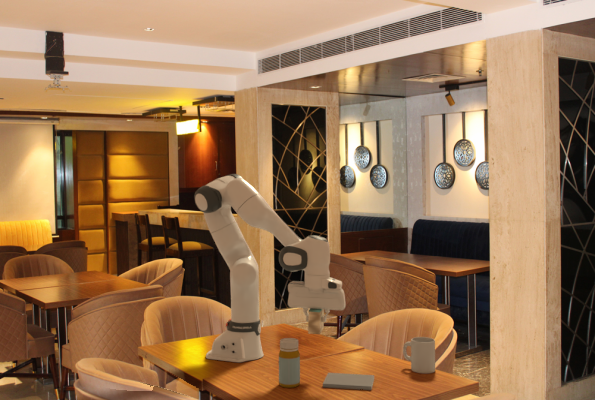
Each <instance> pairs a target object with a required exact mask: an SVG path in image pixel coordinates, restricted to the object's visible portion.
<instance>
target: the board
mask: <svg viewBox="0 0 595 400" xmlns="http://www.w3.org/2000/svg"><path fill="white" fill-rule="evenodd" d="M374 382H375V375H373V374H361V373H360V374H358V373H356V374H355V373H342V372H341V373H340V372H327V374H326V376H325V378H324V381H323V382H322V388H329V389H331V388H332V389H346V390H347V389H348V390H360V389H361V390H362V389H363V390H364V391H372V389H373V386H374V385H373V384H374Z"/></svg>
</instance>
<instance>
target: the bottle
mask: <svg viewBox="0 0 595 400" xmlns="http://www.w3.org/2000/svg"><path fill="white" fill-rule="evenodd" d="M300 363H301V355H300V351H299V339H298V338H294V337H285V338H281V339H280V340H279V352H278V384H279V386H280V387H282V388H285V389H286V388H287V389H292V388H297V387H298V386H299V385H300V384H301V364H300Z"/></svg>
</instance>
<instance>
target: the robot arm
mask: <svg viewBox="0 0 595 400" xmlns="http://www.w3.org/2000/svg"><path fill="white" fill-rule="evenodd" d="M193 198H194V203H195V206H196V207H197V208H198V210H199V211H200V212H202V213H203V217H204V220H205V223H206V225H207V229H208V231H209V233H210V235H211V237H212V239H213V242H215V243H214V244H215V245H216V247H217V249H218V252H219V253H220V254H221V256H222V258H223V260H224V261H225V263H226V265H227V267H228V269H229V270H230V272H229V280H230V281H229V282H230V283H229V284H230V314H231V315H230V319H228V321H226V323H225V327H226V330H224V331H223V332H222V333H221V334H219V335H218V336H217V337H216V338H215V339H214V340H213V342H212V346H211V350H209V351H208V352H207V353H206V355H205V357H206V359H208V360H214V361H215V360H216V361H217V360H218V361H225V362H232V363H244V362H248V361H254V360H259V359H261V358H263V357H264V352H263V347H262V342H261V332H262V324H261V319H260V276H259V275H260V271H259V269H260V267H259V264H258V261H257V260H256V258H255V256H254V254H253V252H252V250H251V248H250V247H249V244H248V243H247V241H246V239H245V236H244V235H243V232H242V230H241V229H240V227H239V224H238V222H237V221H236V219H235V216H234V214H233V213H232V209H233V210H234V211H235V212H236V214H237V215H238V216H239V217H240V219H241V220H242V221H243V222H245V223H246V224H247V225H249V226H250V227H252V228H256V229H260V230H263V231H266V232H268V233H269V234H272V235H273V236H274V237H275V238H276V239H277V240H278V241H279V242H280V243H281V245H283V246H284V247H283V248H281V249H280V251H279V253H278V262H279V264H280V267H282V268H283V269H284V270H285V271H287V272H298V271H304V280H303V281H302V280H300V281H299V280H292V281H290V282H289V283H288V285H287V291H288V298H287V306H288V307H289V308H295V309H296V308H298V309H302V311H303V314H304V316H305V321H306V322H308V318H309V309H310V308H311V309H324V316H322V317H321V319H322V320H321V322H324V323H326V322H327V317H328V315H329V313H330V312H331V310H332V311H344V310H345V309H346V295H345V290H344V289H343V288H342V287H343V281H342V280H340V279H336V278H333V277H330V276H331V273H330V264H331V249H330V248H331V246H330V242H329V240H328V239H327V238H325V237H323V236H320V235H314V234H313V235H308V236H306V237H305V238H304V239H302V238H301V237H299V236H298V234H296V232H295V231H294V230H293V229H292V228H291V227H290V226H289V225H288V224H287V223H286V222H285V221H284V220H283V219H282V218H281V217H280V216H279V215H278V213H276V211H275V210H274V209H273V208H272V206H270V204H269V203H268V202H267V200H266V199H265V198H264V197H263V196H262V195H261V193H260V192H258V190H257V189H256V188H255V187H254V186H253V185H252V184H250V183H249V182H248V181H247V180H245V179H244V178H243V176H241V175H240V174H238V173H229V174H227V175H225V176H222V177H218V178H216V179H214V180H212V181H210V182H209V183H207V184H205V185H202V186H201V187H199V188H198V189H197V190H196V191H195V192H194V196H193Z"/></svg>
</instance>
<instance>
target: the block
mask: <svg viewBox="0 0 595 400" xmlns="http://www.w3.org/2000/svg"><path fill="white" fill-rule="evenodd" d="M308 314H309V318H308V321H307V322H308V323H307V325H308V327H307V334H308V335H309V334H311V335H321V334H322V332H323V330H324V329H325V326H324V324H325V322H321V320H322V319H321V317H322V316H325V309H311V308H309V309H308Z"/></svg>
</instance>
